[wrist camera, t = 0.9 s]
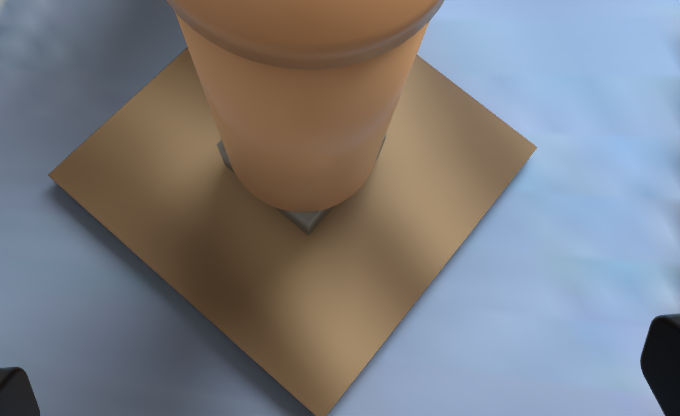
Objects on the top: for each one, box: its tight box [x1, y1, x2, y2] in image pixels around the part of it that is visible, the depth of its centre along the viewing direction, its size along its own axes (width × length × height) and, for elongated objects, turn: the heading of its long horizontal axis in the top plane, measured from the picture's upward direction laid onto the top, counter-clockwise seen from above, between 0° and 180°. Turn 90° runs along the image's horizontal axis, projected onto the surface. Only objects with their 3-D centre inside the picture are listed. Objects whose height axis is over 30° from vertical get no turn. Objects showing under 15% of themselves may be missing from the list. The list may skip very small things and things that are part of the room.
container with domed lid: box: [166, 0, 444, 212], centre depth 14 cm, size 6×6×11 cm
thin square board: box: [48, 47, 537, 416], centre depth 21 cm, size 14×14×3 cm
